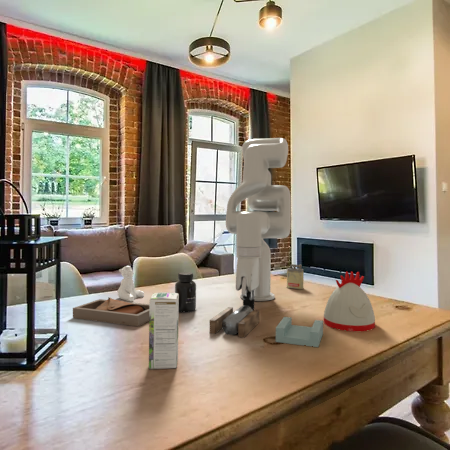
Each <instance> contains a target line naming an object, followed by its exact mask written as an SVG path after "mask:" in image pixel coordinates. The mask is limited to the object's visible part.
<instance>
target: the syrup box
mask: <svg viewBox="0 0 450 450" xmlns="http://www.w3.org/2000/svg"><path fill="white" fill-rule="evenodd" d="M152 293H153V292H152ZM148 304H149V321H148V332H149V333H148V369H149V370H162V369H163V370H164V369H177V368H178V360H179V359H178V358H179V313H180V312H179V294H178V293H175V292H165V291H164V292H163V291H162V292H154V293H153V294H152V295H151V297H150V299H149V303H148Z"/></svg>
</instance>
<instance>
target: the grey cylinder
mask: <svg viewBox="0 0 450 450" xmlns="http://www.w3.org/2000/svg"><path fill="white" fill-rule="evenodd" d="M252 311H253V310H252V308H251V307H250V306H248V305H243V304H242V305H241V306H239V307H237V309H236V310H233V313H232V314H230V315H229V316H228V317H226V318H225V319H224V320H223V322H222V330H223V332H224V333H225V335H231V336H235V335H237V334H238V323H239V322H241V321H242V320H243V319H244V318H245V317H246V316H247V315H249V314H250V313H251V312H252Z"/></svg>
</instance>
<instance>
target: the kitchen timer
mask: <svg viewBox="0 0 450 450" xmlns="http://www.w3.org/2000/svg"><path fill="white" fill-rule="evenodd" d="M349 273H350V274H349ZM364 278H365V276H363V275H361V276H360V271H357V272H356V273H355V275H354V272H353V271H350V272H348V271H345V276H343V275H340V279H341V280H340V281H341V283H340V282H339V280H338V279H335V282H336V285H337V287H335V288H334V290H332V291H333V292H331V294H330V296H329V298H328V300H327V301H326V305H325V308H324V311H323V312H324V313H323V325H325V326H327V327H329V328H333V329H335V328H336V329H335V330H338V329H340V330H339V331H344V330H346V331H347V332H354V331H361V332H368V331H367V330H369V331H371V329H372V330H374V329H375V328H376V317H375V312H374V309H373V305H372V303H371V300H370V298H369V297H368V295H367V293H366V292H365V291H364V289H362V288H361V285H362V283H363V281H364ZM373 328H374V329H373ZM346 331H345V332H346Z"/></svg>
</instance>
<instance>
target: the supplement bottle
mask: <svg viewBox="0 0 450 450" xmlns="http://www.w3.org/2000/svg"><path fill="white" fill-rule="evenodd" d="M177 275H178V276H177V277H178V278H177V279H178V280H177V281H176V282H175V284H174V293H178V294H179V313H192V312H195V311H196V309H197V283H196V282H195V281H194V280H193V279H194V273H193V272H189V271H185V272H179V273H178V274H177Z"/></svg>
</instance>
